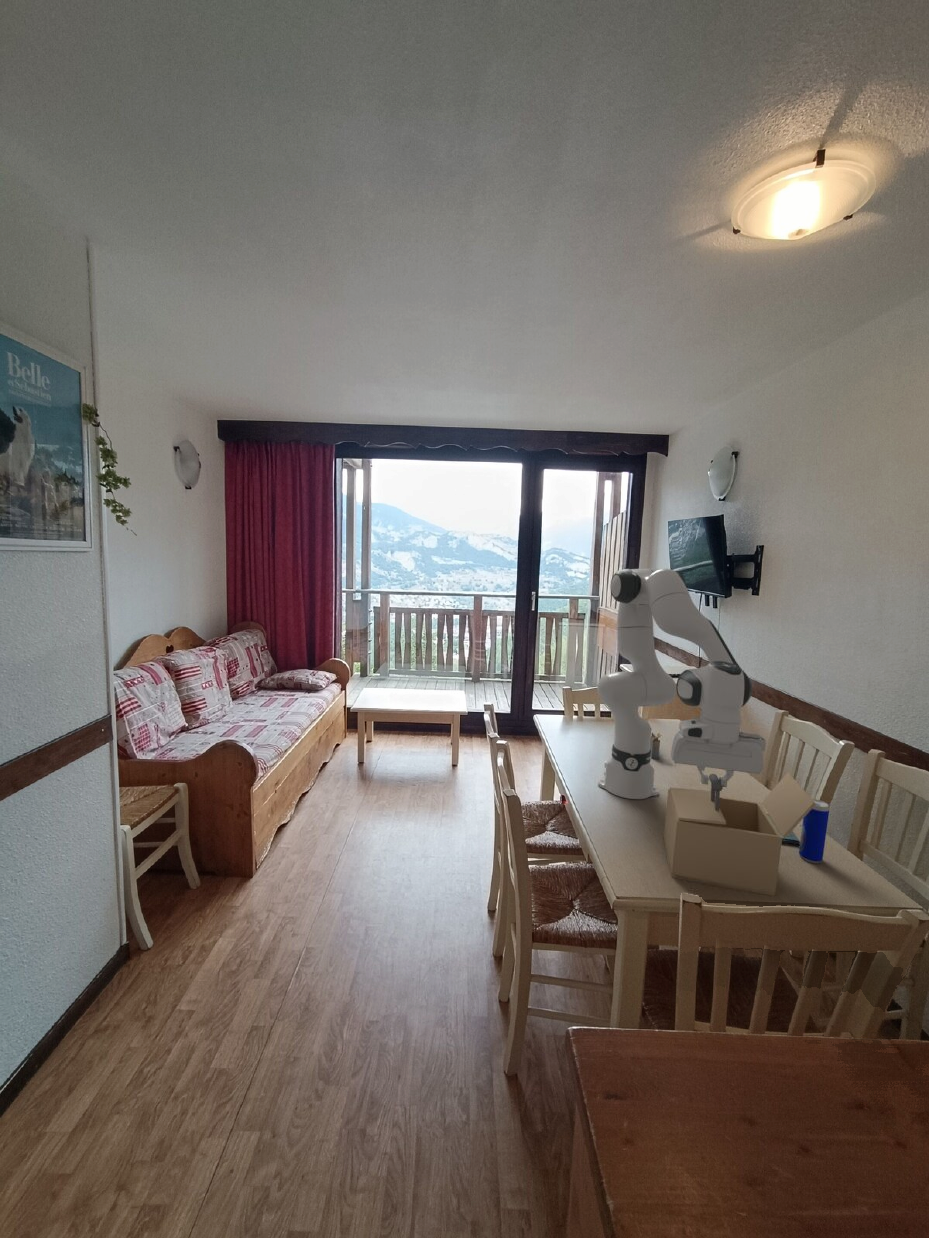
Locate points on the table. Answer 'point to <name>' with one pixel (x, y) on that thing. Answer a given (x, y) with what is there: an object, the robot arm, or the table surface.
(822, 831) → the beverage can
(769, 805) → the flap
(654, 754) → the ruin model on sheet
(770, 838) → the carton
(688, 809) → the flap
